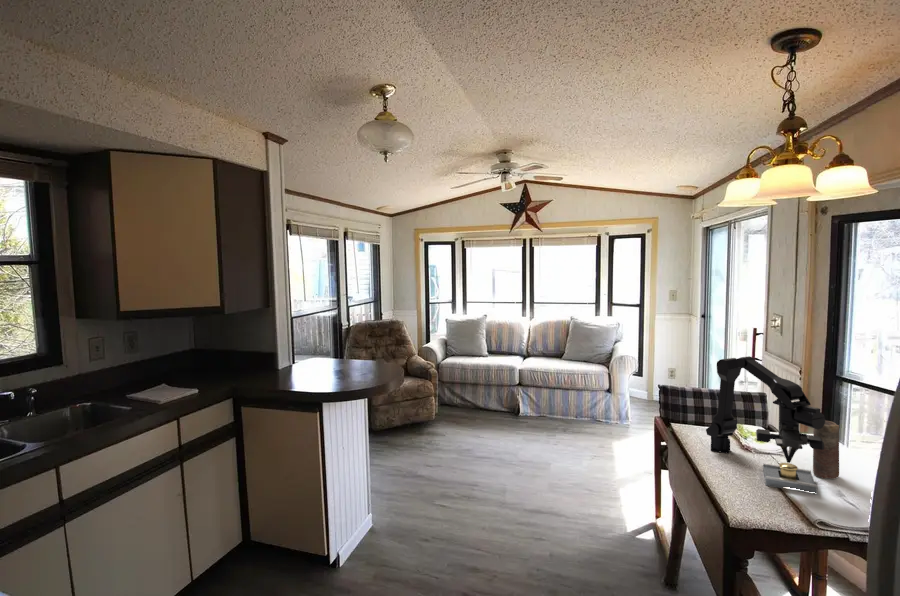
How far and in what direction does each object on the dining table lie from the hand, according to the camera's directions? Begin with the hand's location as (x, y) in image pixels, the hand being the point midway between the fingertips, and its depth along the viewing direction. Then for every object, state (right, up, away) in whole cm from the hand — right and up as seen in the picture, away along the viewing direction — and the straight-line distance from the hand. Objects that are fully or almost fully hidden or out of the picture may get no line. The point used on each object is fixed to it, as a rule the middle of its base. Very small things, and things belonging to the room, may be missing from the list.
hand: (788, 462), depth 159 cm
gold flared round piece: (0, -7, +1) cm, 7 cm away
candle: (+16, -6, +4) cm, 18 cm away
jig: (0, -7, +1) cm, 7 cm away
